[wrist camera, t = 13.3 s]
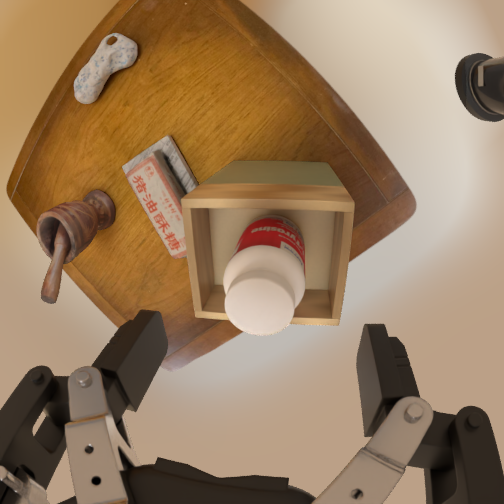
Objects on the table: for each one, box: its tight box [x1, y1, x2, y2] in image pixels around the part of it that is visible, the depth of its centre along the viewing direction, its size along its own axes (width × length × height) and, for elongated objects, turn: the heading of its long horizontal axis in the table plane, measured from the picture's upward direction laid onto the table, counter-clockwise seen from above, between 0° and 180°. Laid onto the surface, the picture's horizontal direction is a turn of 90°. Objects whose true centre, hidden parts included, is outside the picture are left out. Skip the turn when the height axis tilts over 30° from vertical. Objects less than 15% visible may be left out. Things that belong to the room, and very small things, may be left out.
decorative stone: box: [74, 33, 138, 104], centre depth 37 cm, size 13×7×5 cm, turn 137°
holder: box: [181, 183, 355, 325], centre depth 28 cm, size 14×12×6 cm
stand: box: [201, 161, 344, 187], centre depth 38 cm, size 14×12×16 cm
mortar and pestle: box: [37, 190, 115, 304], centre depth 41 cm, size 12×9×20 cm
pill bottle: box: [223, 215, 305, 335], centre depth 25 cm, size 6×6×11 cm
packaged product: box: [122, 135, 199, 258], centre depth 45 cm, size 18×5×10 cm
